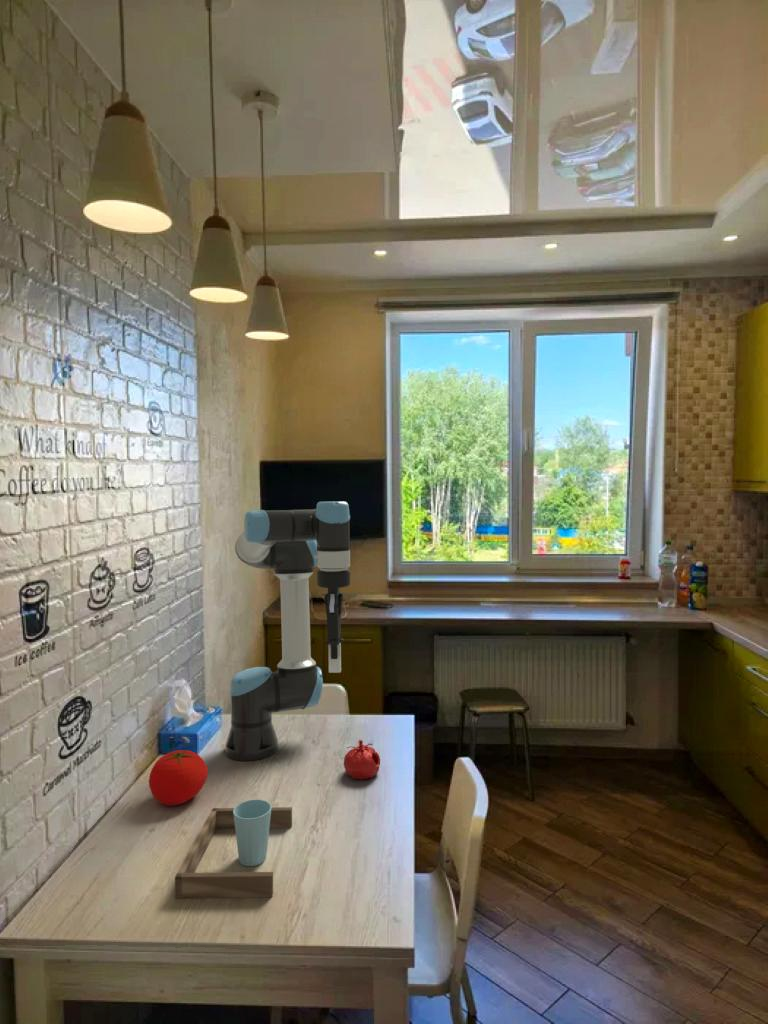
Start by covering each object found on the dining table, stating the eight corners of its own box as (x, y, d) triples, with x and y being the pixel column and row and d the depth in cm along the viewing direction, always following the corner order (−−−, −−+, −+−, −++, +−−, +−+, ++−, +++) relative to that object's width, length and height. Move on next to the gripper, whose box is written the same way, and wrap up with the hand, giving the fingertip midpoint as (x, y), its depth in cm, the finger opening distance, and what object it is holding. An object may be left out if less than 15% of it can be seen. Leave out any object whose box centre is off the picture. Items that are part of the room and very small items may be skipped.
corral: (213, 825, 134) (212, 808, 134) (292, 824, 134) (291, 807, 134) (175, 898, 109) (175, 877, 109) (272, 897, 109) (271, 876, 109)
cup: (228, 854, 123) (228, 805, 122) (264, 843, 127) (264, 795, 126) (239, 874, 116) (239, 822, 116) (276, 862, 120) (276, 811, 120)
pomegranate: (348, 786, 151) (347, 751, 151) (340, 769, 161) (338, 735, 161) (385, 780, 154) (384, 745, 154) (374, 763, 164) (373, 730, 163)
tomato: (163, 785, 152) (162, 741, 152) (214, 787, 151) (214, 742, 151) (138, 812, 140) (137, 763, 139) (194, 814, 139) (193, 765, 138)
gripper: (320, 565, 141) (321, 663, 141) (313, 572, 128) (315, 680, 128) (351, 565, 141) (352, 663, 141) (348, 572, 128) (349, 680, 128)
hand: (334, 671), depth 135 cm, fingers closed
